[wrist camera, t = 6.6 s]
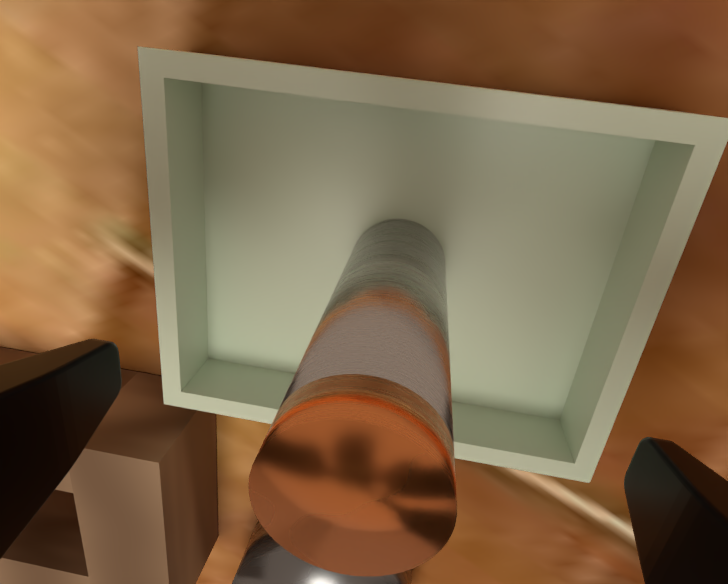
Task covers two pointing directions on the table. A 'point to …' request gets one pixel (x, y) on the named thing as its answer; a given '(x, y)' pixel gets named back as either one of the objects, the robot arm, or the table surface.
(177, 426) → the block
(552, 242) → the tray
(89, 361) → the robot arm
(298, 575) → the dark grey knobbed lid
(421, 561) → the pin
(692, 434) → the table surface
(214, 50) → the table surface
